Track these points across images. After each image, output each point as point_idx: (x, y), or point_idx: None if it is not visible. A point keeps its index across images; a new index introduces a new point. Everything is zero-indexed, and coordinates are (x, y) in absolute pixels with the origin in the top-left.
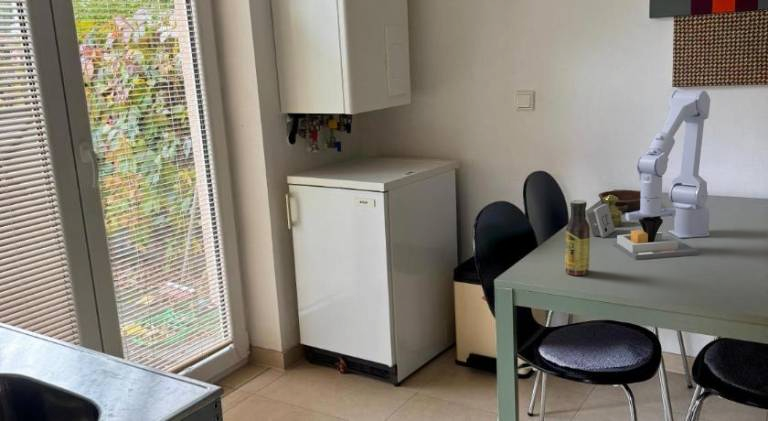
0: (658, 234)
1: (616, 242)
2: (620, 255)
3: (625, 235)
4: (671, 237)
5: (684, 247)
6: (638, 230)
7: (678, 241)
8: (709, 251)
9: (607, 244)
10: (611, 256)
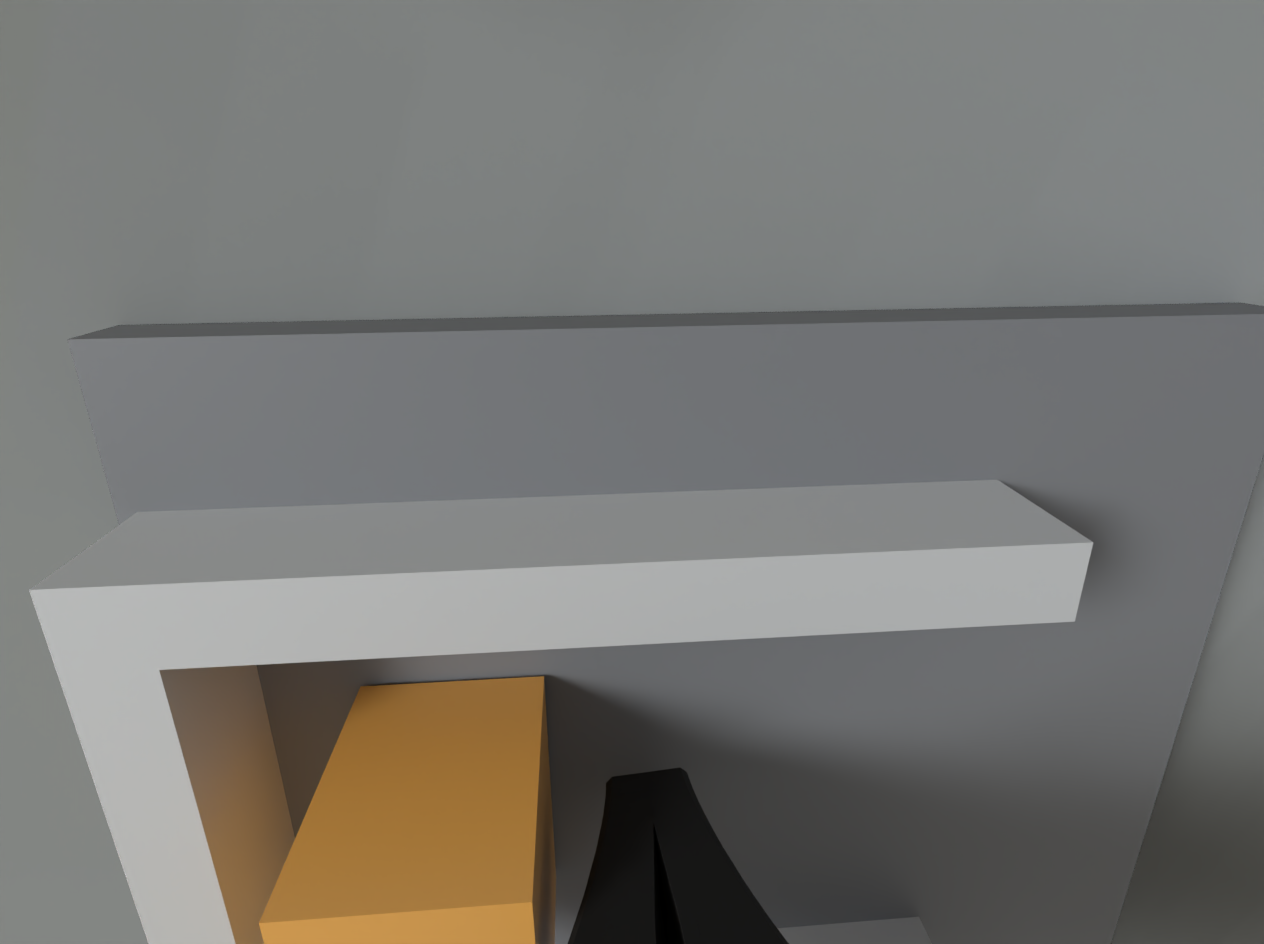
0: (978, 609)
1: (127, 492)
2: None
3: (231, 648)
4: (1241, 418)
5: (1037, 907)
6: (452, 929)
7: (1166, 658)
8: (1253, 890)
9: (11, 293)
10: (7, 896)
